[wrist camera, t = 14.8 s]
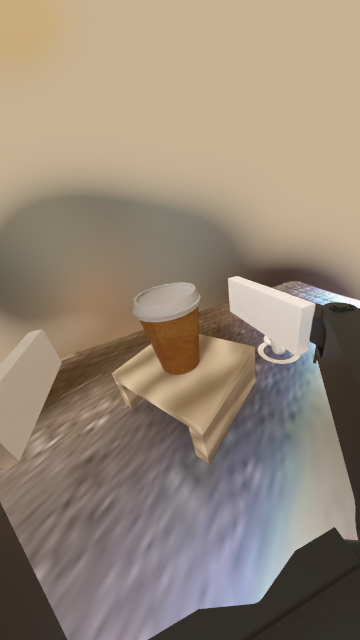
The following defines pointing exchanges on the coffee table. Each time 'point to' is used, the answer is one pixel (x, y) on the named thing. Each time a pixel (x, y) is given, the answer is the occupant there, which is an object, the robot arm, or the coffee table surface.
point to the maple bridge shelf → (194, 389)
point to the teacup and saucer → (275, 351)
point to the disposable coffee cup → (171, 324)
